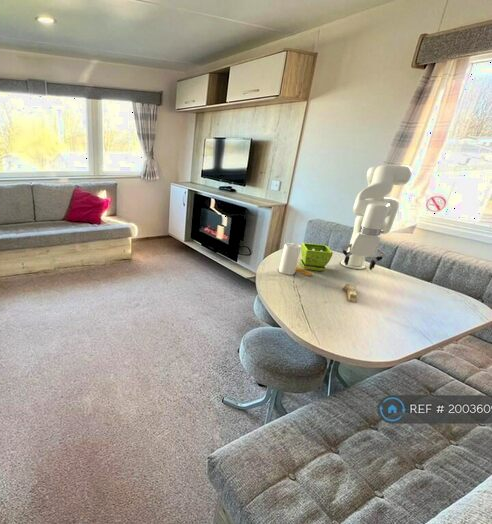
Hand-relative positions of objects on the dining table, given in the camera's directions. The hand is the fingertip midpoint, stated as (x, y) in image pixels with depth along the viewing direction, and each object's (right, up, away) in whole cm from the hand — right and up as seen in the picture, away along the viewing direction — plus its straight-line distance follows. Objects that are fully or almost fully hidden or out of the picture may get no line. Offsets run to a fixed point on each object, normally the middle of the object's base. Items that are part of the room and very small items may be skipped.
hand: (357, 266), depth 145 cm
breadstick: (-10, -4, +31) cm, 33 cm away
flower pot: (0, -1, +39) cm, 39 cm away
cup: (-19, -4, +31) cm, 37 cm away
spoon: (+1, -14, +7) cm, 16 cm away
